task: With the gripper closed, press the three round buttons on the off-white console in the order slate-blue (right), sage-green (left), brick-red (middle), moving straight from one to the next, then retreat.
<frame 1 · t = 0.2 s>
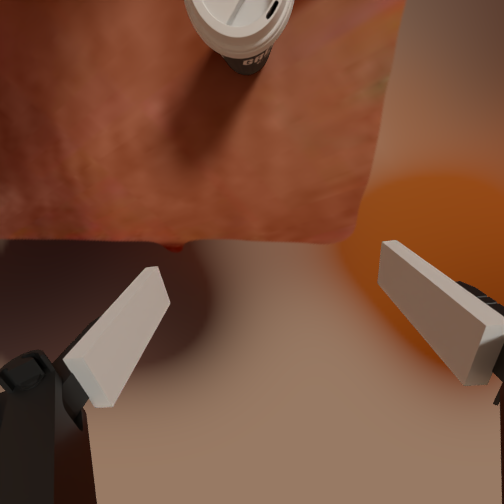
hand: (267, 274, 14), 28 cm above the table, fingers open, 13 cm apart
coffee cup: (246, 45, 31), on the table
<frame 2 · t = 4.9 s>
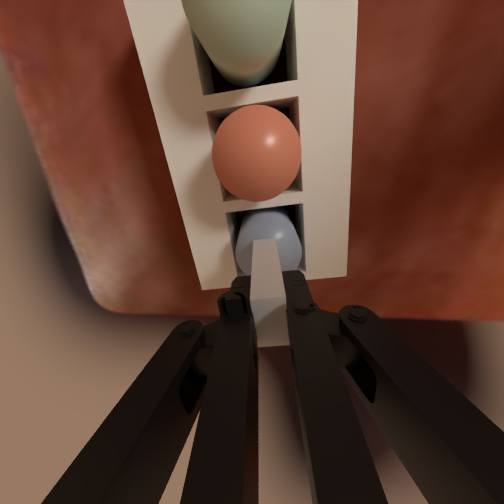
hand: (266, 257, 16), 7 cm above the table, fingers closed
button sage: (241, 20, 12), point 5 cm above the table, slide at 0.0 cm
button slate: (267, 237, 19), point 4 cm above the table, slide at 1.7 cm, touching gripper
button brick: (257, 154, 15), point 5 cm above the table, slide at 0.0 cm
console: (258, 151, 20), on the table
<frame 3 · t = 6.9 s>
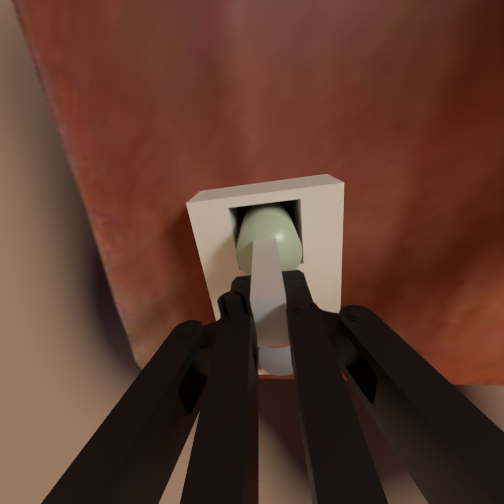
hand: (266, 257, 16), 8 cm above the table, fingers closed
button sage: (267, 238, 19), point 5 cm above the table, slide at 0.3 cm, touching gripper
button slate: (279, 337, 26), point 3 cm above the table, slide at 2.2 cm
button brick: (275, 303, 21), point 5 cm above the table, slide at 0.0 cm
console: (272, 273, 26), on the table
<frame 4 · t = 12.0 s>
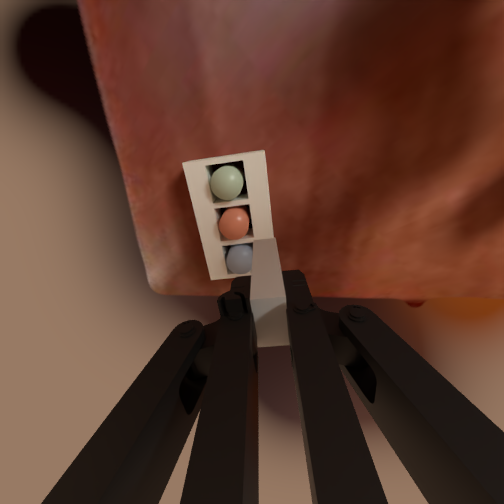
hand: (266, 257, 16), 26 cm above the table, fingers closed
button sage: (228, 181, 36), point 3 cm above the table, slide at 2.2 cm
button slate: (241, 254, 42), point 3 cm above the table, slide at 2.2 cm
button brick: (235, 220, 39), point 3 cm above the table, slide at 2.2 cm
console: (237, 214, 42), on the table
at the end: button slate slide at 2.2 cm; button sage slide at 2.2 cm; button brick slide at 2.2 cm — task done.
